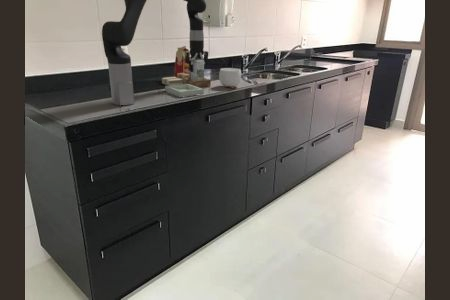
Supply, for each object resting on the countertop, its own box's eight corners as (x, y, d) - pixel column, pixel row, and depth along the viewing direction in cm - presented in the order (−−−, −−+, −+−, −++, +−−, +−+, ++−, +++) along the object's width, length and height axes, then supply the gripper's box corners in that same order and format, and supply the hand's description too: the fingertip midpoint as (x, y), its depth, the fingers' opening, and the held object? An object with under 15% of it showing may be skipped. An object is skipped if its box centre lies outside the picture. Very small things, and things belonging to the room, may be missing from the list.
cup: (245, 87, 178) (246, 69, 175) (230, 90, 170) (231, 72, 166) (229, 83, 186) (229, 67, 182) (214, 86, 177) (214, 69, 174)
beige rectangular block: (182, 85, 179) (182, 79, 178) (170, 87, 175) (169, 80, 174) (174, 82, 187) (174, 76, 185) (162, 84, 182) (161, 77, 181)
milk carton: (194, 79, 196) (193, 45, 188) (182, 81, 190) (181, 46, 182) (184, 77, 202) (183, 44, 194) (173, 79, 196) (171, 45, 188)
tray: (203, 94, 158) (203, 89, 157) (180, 97, 151) (180, 91, 150) (187, 88, 170) (187, 83, 169) (165, 91, 162) (165, 86, 161)
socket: (210, 86, 177) (210, 79, 175) (193, 88, 170) (193, 81, 169) (199, 83, 185) (199, 76, 183) (183, 85, 178) (183, 78, 177)
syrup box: (196, 84, 181) (196, 58, 176) (204, 86, 178) (204, 59, 172) (189, 86, 177) (189, 59, 171) (197, 87, 174) (196, 60, 168)
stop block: (190, 83, 184) (190, 74, 182) (184, 84, 181) (184, 75, 179) (183, 81, 189) (183, 72, 188) (177, 81, 187) (177, 73, 185)
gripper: (188, 40, 161) (189, 73, 168) (211, 39, 169) (211, 71, 176) (181, 39, 167) (182, 71, 173) (204, 38, 175) (204, 69, 181)
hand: (196, 71), depth 174 cm, fingers closed on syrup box, 6 cm apart
